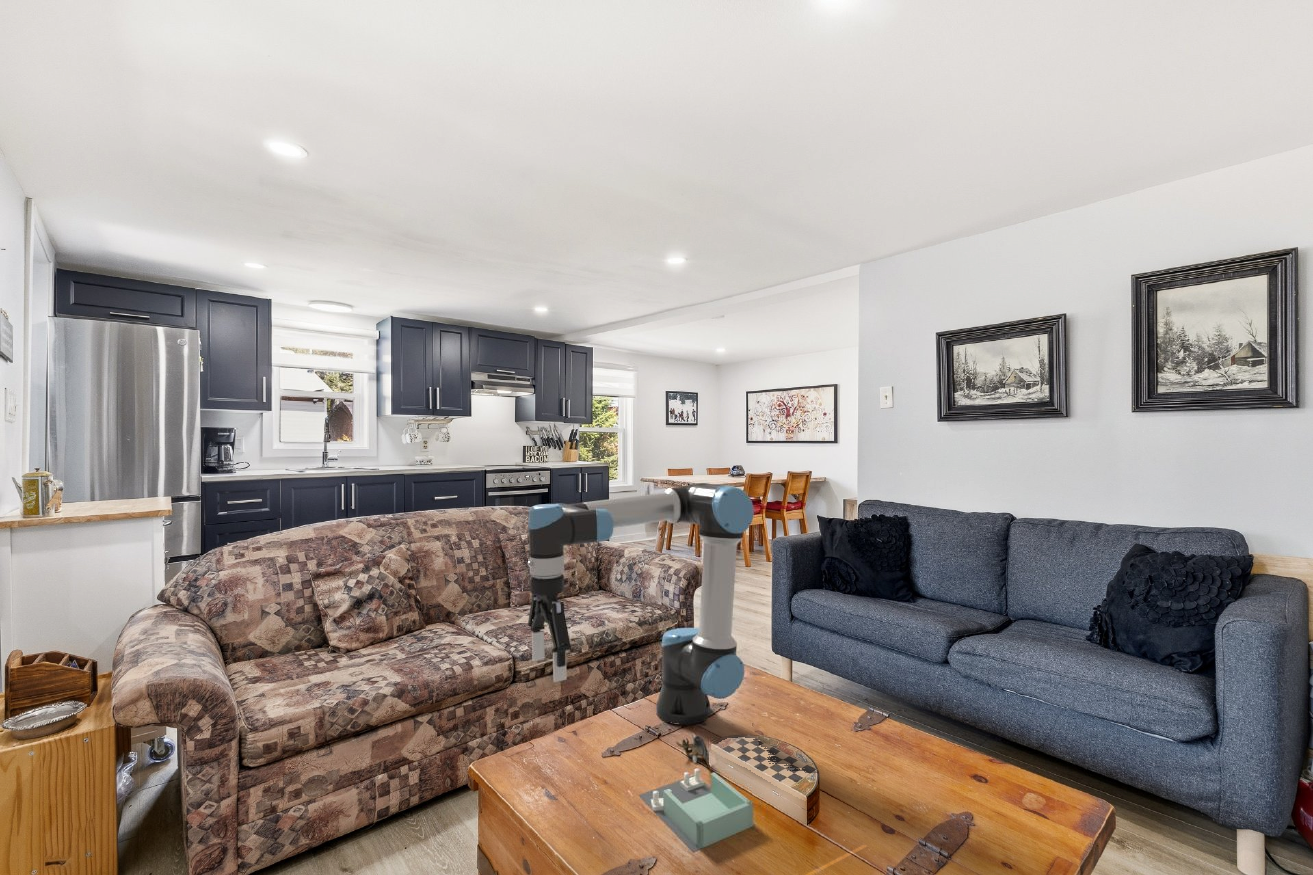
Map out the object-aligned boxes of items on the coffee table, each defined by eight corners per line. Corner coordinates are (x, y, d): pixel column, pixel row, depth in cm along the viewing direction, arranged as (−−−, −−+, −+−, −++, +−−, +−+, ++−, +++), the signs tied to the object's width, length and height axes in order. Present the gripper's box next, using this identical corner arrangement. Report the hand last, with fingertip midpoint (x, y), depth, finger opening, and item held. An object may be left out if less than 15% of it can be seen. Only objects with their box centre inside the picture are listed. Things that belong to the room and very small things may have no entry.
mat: (695, 776, 140) (695, 774, 140) (755, 826, 122) (755, 824, 122) (638, 796, 132) (638, 794, 132) (692, 854, 114) (692, 851, 114)
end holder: (714, 792, 133) (714, 772, 133) (753, 825, 122) (753, 803, 122) (663, 812, 126) (663, 790, 126) (699, 849, 115) (699, 825, 115)
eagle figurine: (673, 760, 145) (705, 765, 139) (678, 728, 148) (709, 731, 143) (690, 766, 149) (722, 771, 144) (695, 735, 153) (726, 738, 148)
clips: (696, 778, 138) (696, 765, 138) (713, 793, 133) (713, 779, 133) (641, 798, 131) (641, 784, 131) (657, 814, 125) (656, 800, 125)
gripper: (513, 566, 145) (515, 655, 145) (550, 589, 123) (552, 694, 123) (543, 562, 148) (545, 649, 149) (585, 584, 127) (587, 685, 127)
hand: (548, 669), depth 136 cm, fingers open, 13 cm apart
